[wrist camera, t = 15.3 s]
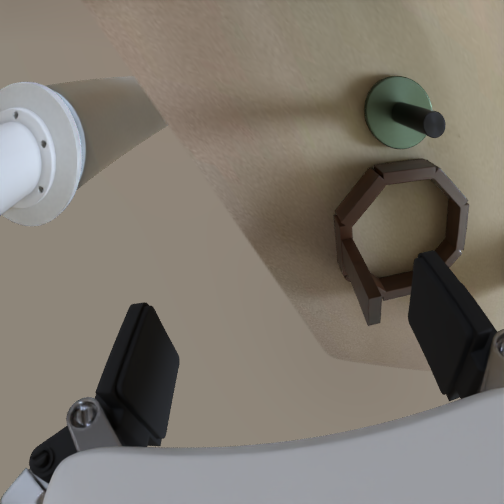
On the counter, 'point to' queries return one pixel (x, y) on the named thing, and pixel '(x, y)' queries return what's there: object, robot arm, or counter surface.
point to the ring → (356, 204)
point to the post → (401, 113)
